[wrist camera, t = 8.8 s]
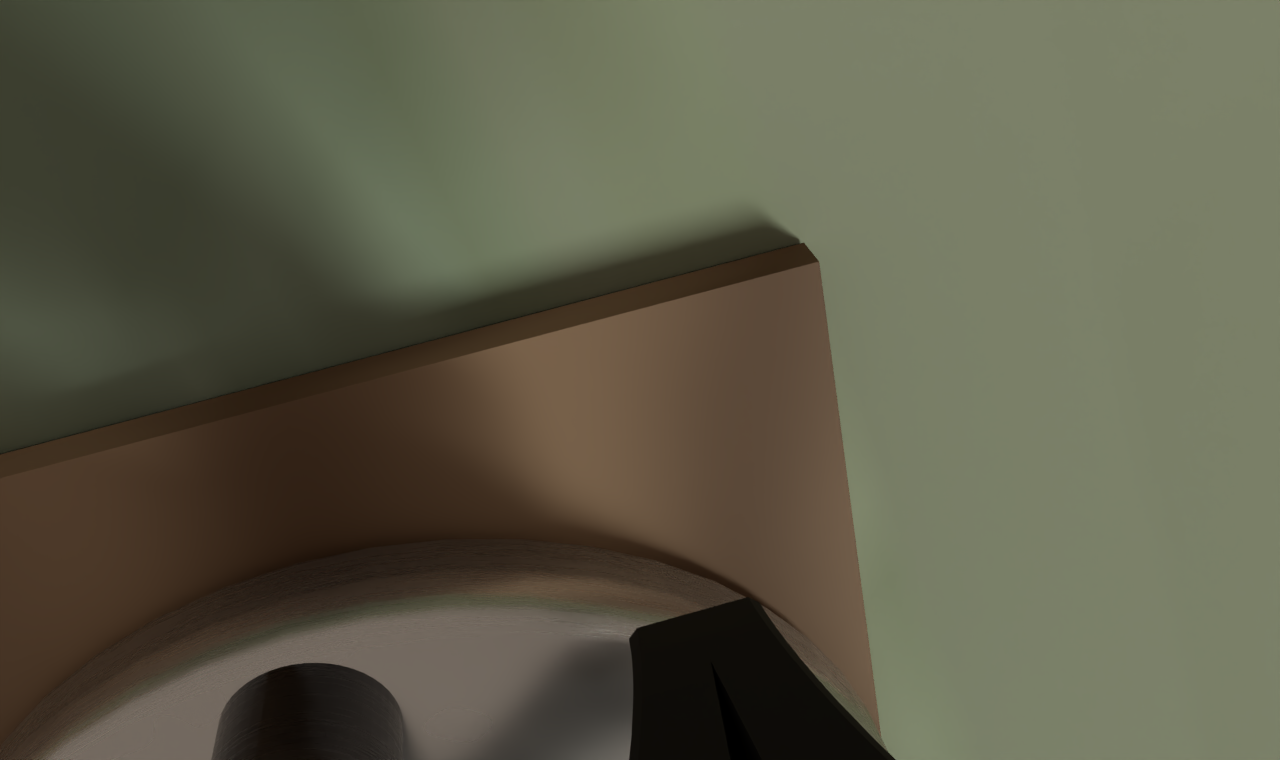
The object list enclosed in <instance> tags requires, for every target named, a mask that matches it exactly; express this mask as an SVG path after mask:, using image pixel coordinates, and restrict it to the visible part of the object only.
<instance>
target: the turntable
mask: <svg viewBox="0 0 1280 760" xmlns="http://www.w3.org/2000/svg"><path fill="white" fill-rule="evenodd" d="M743 598H746V597H744V596H742V595H740V594H738V593H736V592H734V591H732V590H731V589H729V588H727V587H725V586H723V585H721V584H719V583H717V582H715V581H712V580H709V579H707V578H704V577H701V576H698V575H695V574H692V573H690V572H687V571H684V570H681V569H678V568H675V567H672V566H670V565H667V564H664V563H661V562H658V561H655V560H651V559H646V558H642V557H637V556H632V555H628V554H623V553H619V552H614V551H610V550H605V549H601V548H596V547H592V546H583V545H573V544H563V543H554V542H544V541H534V540H525V539H445V540H436V541H427V542H418V543H409V544H400V545H391V546H382V547H373V548H367V549H362V550H358V551H353V552H348V553H344V554H339V555H335V556H330V557H325V558H321V559H316V560H311V561H307V562H302V563H298V564H294V565H291V566H288V567H285V568H282V569H279V570H276V571H273V572H270V573H267V574H264V575H261V576H258V577H255V578H251V579H248V580H245V581H242V582H239V583H236V584H233V585H230V586H227V587H224V588H222V589H220V590H217V591H215V592H213V593H211V594H209V595H207V596H204V597H202V598H200V599H198V600H196V601H193V602H191V603H189V604H187V605H185V606H183V607H180V608H178V609H176V610H174V611H172V612H170V613H167V614H165V615H163V616H161V617H159V618H156V619H155V620H153V621H151V622H150V623H148V624H147V625H145V626H143V627H142V628H140V629H138V630H137V631H135V632H134V633H132V634H130V635H129V636H127V637H125V638H124V639H122V640H120V641H119V642H117V643H116V644H114V645H112V646H111V647H109V648H107V649H106V650H104V651H103V652H101V653H99V654H98V655H96V656H95V657H94V658H92V659H91V660H90V661H89V662H87V663H86V664H85V665H84V666H82V667H81V668H80V669H79V670H77V671H76V672H75V673H74V674H73V675H71V676H70V677H69V678H68V679H66V680H65V681H64V682H63V683H61V684H60V685H59V686H58V687H56V688H55V689H54V690H53V691H52V692H50V693H49V694H48V695H47V696H45V697H44V698H43V700H42V701H41V702H40V703H39V704H38V705H37V706H36V707H35V708H34V709H33V710H32V711H31V713H30V714H29V715H28V716H27V717H26V718H25V719H24V720H23V721H22V722H21V723H20V724H19V726H18V727H17V728H16V729H15V730H14V731H13V732H12V733H11V734H10V735H9V736H8V737H7V739H6V740H5V741H4V742H3V744H2V745H1V747H0V760H629V755H630V746H631V735H632V714H633V669H632V656H631V649H630V643H629V638H630V637H631V635H632V634H633V633H634V631H635V630H636V629H637V628H638V627H642V626H646V625H649V624H653V623H656V622H660V621H664V620H667V619H671V618H674V617H678V616H681V615H685V614H689V613H692V612H696V611H699V610H703V609H707V608H710V607H714V606H717V605H721V604H725V603H728V602H732V601H735V600H739V599H743ZM761 606H762V605H761ZM762 607H763V609H764V610H765V612H766V614H767V615H768V616H769V618H770V619H771V621H772V622H773V624H774V625H775V626H776V628H777V629H778V631H779V632H780V633H781V635H782V636H783V637H784V638H785V640H786V641H787V642H788V644H789V645H790V646H791V647H792V649H793V650H794V651H795V652H796V654H797V655H798V656H799V657H800V659H801V660H802V661H803V662H804V663H805V664H806V666H807V667H808V668H809V669H810V670H811V671H812V673H813V674H814V675H815V676H816V677H817V678H818V680H819V681H820V682H821V683H822V684H823V685H824V686H825V688H826V689H827V690H828V691H829V692H830V693H831V694H832V695H833V696H834V697H835V699H836V700H837V701H838V702H839V703H840V704H841V705H842V706H843V707H844V708H845V709H846V710H847V711H848V712H849V713H850V714H851V715H852V716H853V717H854V718H855V719H856V720H857V721H858V723H859V724H860V725H861V726H862V727H863V728H864V729H865V730H866V731H867V732H868V733H869V734H870V735H871V736H872V737H873V738H874V739H875V740H876V741H877V742H878V743H879V744H880V745H881V746H882V747H883V748H884V749H885V750H886V751H887V749H886V747H885V744H884V742H883V740H882V738H881V736H880V734H879V732H878V730H877V728H876V726H875V724H874V722H873V719H872V717H871V715H870V713H869V711H868V709H867V707H866V706H865V704H864V703H863V701H862V700H861V699H860V697H859V696H858V694H857V693H856V691H855V690H854V688H853V687H852V686H851V684H850V683H849V681H848V680H847V678H846V677H845V676H844V674H843V673H842V671H841V670H840V669H839V668H838V667H837V666H836V665H835V664H834V663H833V662H832V661H831V660H830V659H829V658H828V657H827V656H826V655H825V654H824V653H823V652H822V651H821V650H820V649H819V648H818V647H817V646H816V645H815V644H814V643H813V642H812V641H811V640H810V639H809V638H808V637H806V636H805V635H803V634H802V633H801V632H799V631H798V630H796V629H795V628H794V627H792V626H791V625H789V624H788V623H787V622H785V621H784V620H782V619H781V618H780V617H778V616H777V615H775V614H774V613H773V612H771V611H770V610H768V609H767V608H766V607H764V606H762ZM887 752H888V751H887Z"/></svg>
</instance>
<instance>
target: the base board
mask: <svg viewBox="0 0 1280 760" xmlns="http://www.w3.org/2000/svg"><path fill="white" fill-rule="evenodd" d="M445 539H525V540H534V541H544V542H554V543H563V544H573V545H583V546H592V547H596V548H601V549H605V550H610V551H614V552H619V553H623V554H628V555H632V556H637V557H642V558H646V559H651V560H655V561H658V562H661V563H664V564H667V565H670V566H672V567H675V568H678V569H681V570H684V571H687V572H690V573H692V574H695V575H698V576H701V577H704V578H707V579H709V580H712V581H715V582H717V583H719V584H721V585H723V586H725V587H727V588H729V589H731V590H732V591H734V592H736V593H738V594H740V595H742V596H744V597H749V598H751V599H753V600H755V601H757V602H759V603H760V604H761V605H762V606H764V607H766V608H767V609H768V610H770V611H771V612H773V613H774V614H775V615H777V616H778V617H780V618H781V619H782V620H784V621H785V622H787V623H788V624H789V625H791V626H792V627H794V628H795V629H796V630H798V631H799V632H801V633H802V634H803V635H805V636H806V637H808V638H809V639H810V640H811V641H812V642H813V643H814V644H815V645H816V646H817V647H818V648H819V649H820V650H821V651H822V652H823V653H824V654H825V655H826V656H827V657H828V658H829V659H830V660H831V661H832V662H833V663H834V664H835V665H836V666H837V667H838V668H839V669H840V670H841V671H842V673H843V674H844V676H845V677H846V678H847V680H848V681H849V683H850V684H851V686H852V687H853V688H854V690H855V691H856V693H857V694H858V696H859V697H860V699H861V700H862V701H863V703H864V704H865V706H866V707H867V709H868V711H869V713H870V715H871V717H872V719H873V722H874V724H875V726H876V728H877V730H878V732H879V734H880V736H881V732H880V725H879V717H878V709H877V702H876V694H875V687H874V679H873V671H872V664H871V656H870V648H869V641H868V633H867V625H866V618H865V610H864V602H863V595H862V587H861V579H860V572H859V564H858V556H857V549H856V541H855V533H854V526H853V518H852V510H851V503H850V495H849V487H848V480H847V472H846V464H845V457H844V449H843V441H842V434H841V426H840V418H839V411H838V403H837V395H836V388H835V380H834V372H833V365H832V357H831V349H830V342H829V334H828V326H827V319H826V311H825V303H824V296H823V288H822V280H821V273H820V265H819V261H818V260H817V258H816V257H815V256H814V255H813V254H812V252H811V251H810V250H809V249H808V247H807V246H806V245H805V244H804V243H801V244H797V245H793V246H789V247H786V248H782V249H778V250H774V251H771V252H767V253H763V254H759V255H755V256H752V257H748V258H744V259H740V260H736V261H733V262H729V263H725V264H721V265H717V266H714V267H710V268H706V269H702V270H698V271H695V272H691V273H687V274H683V275H679V276H676V277H672V278H668V279H664V280H660V281H657V282H653V283H649V284H645V285H641V286H638V287H634V288H630V289H626V290H623V291H619V292H615V293H611V294H607V295H604V296H600V297H596V298H592V299H588V300H585V301H581V302H577V303H573V304H569V305H566V306H562V307H558V308H554V309H550V310H547V311H543V312H539V313H535V314H531V315H528V316H524V317H520V318H516V319H512V320H509V321H505V322H501V323H497V324H494V325H490V326H486V327H482V328H478V329H475V330H471V331H467V332H463V333H459V334H456V335H452V336H448V337H444V338H440V339H437V340H433V341H429V342H425V343H421V344H418V345H414V346H410V347H406V348H402V349H399V350H395V351H391V352H387V353H383V354H380V355H376V356H372V357H368V358H365V359H361V360H357V361H353V362H349V363H346V364H342V365H338V366H334V367H330V368H327V369H323V370H319V371H315V372H311V373H308V374H304V375H300V376H296V377H292V378H289V379H285V380H281V381H277V382H273V383H270V384H266V385H262V386H258V387H254V388H251V389H247V390H243V391H239V392H236V393H232V394H228V395H224V396H220V397H217V398H213V399H209V400H205V401H201V402H198V403H194V404H190V405H186V406H182V407H179V408H175V409H171V410H167V411H163V412H160V413H156V414H152V415H148V416H144V417H141V418H137V419H133V420H129V421H125V422H122V423H118V424H114V425H110V426H107V427H103V428H99V429H95V430H91V431H88V432H84V433H80V434H76V435H72V436H69V437H65V438H61V439H57V440H53V441H50V442H46V443H42V444H38V445H34V446H31V447H27V448H23V449H19V450H15V451H12V452H8V453H4V454H0V747H1V745H2V744H3V742H4V741H5V740H6V739H7V737H8V736H9V735H10V734H11V733H12V732H13V731H14V730H15V729H16V728H17V727H18V726H19V724H20V723H21V722H22V721H23V720H24V719H25V718H26V717H27V716H28V715H29V714H30V713H31V711H32V710H33V709H34V708H35V707H36V706H37V705H38V704H39V703H40V702H41V701H42V700H43V698H44V697H45V696H47V695H48V694H49V693H50V692H52V691H53V690H54V689H55V688H56V687H58V686H59V685H60V684H61V683H63V682H64V681H65V680H66V679H68V678H69V677H70V676H71V675H73V674H74V673H75V672H76V671H77V670H79V669H80V668H81V667H82V666H84V665H85V664H86V663H87V662H89V661H90V660H91V659H92V658H94V657H95V656H96V655H98V654H99V653H101V652H103V651H104V650H106V649H107V648H109V647H111V646H112V645H114V644H116V643H117V642H119V641H120V640H122V639H124V638H125V637H127V636H129V635H130V634H132V633H134V632H135V631H137V630H138V629H140V628H142V627H143V626H145V625H147V624H148V623H150V622H151V621H153V620H155V619H156V618H159V617H161V616H163V615H165V614H167V613H170V612H172V611H174V610H176V609H178V608H180V607H183V606H185V605H187V604H189V603H191V602H193V601H196V600H198V599H200V598H202V597H204V596H207V595H209V594H211V593H213V592H215V591H217V590H220V589H222V588H224V587H227V586H230V585H233V584H236V583H239V582H242V581H245V580H248V579H251V578H255V577H258V576H261V575H264V574H267V573H270V572H273V571H276V570H279V569H282V568H285V567H288V566H291V565H294V564H298V563H302V562H307V561H311V560H316V559H321V558H325V557H330V556H335V555H339V554H344V553H348V552H353V551H358V550H362V549H367V548H373V547H382V546H391V545H400V544H409V543H418V542H427V541H436V540H445Z"/></svg>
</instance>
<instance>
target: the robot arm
mask: <svg viewBox="0 0 1280 760" xmlns="http://www.w3.org/2000/svg"><path fill="white" fill-rule="evenodd" d="M629 643H630V649H631V656H632V669H633V714H632V735H631V746H630V755H629V760H895V759H894V758H893V757H892V756H891V755H890V754H889V753H888V752H887V751H886V750H885V749H884V748H883V747H882V746H881V745H880V744H879V743H878V742H877V741H876V740H875V739H874V738H873V737H872V736H871V735H870V734H869V733H868V732H867V731H866V730H865V729H864V728H863V727H862V726H861V725H860V724H859V723H858V721H857V720H856V719H855V718H854V717H853V716H852V715H851V714H850V713H849V712H848V711H847V710H846V709H845V708H844V707H843V706H842V705H841V704H840V703H839V702H838V701H837V700H836V699H835V697H834V696H833V695H832V694H831V693H830V692H829V691H828V690H827V689H826V688H825V686H824V685H823V684H822V683H821V682H820V681H819V680H818V678H817V677H816V676H815V675H814V674H813V673H812V671H811V670H810V669H809V668H808V667H807V666H806V664H805V663H804V662H803V661H802V660H801V659H800V657H799V656H798V655H797V654H796V652H795V651H794V650H793V649H792V647H791V646H790V645H789V644H788V642H787V641H786V640H785V638H784V637H783V636H782V635H781V633H780V632H779V631H778V629H777V628H776V626H775V625H774V624H773V622H772V621H771V619H770V618H769V616H768V615H767V614H766V612H765V610H764V609H763V607H762V606H761V604H760V603H759V602H757V601H755V600H753V599H751V598H749V597H746V598H743V599H739V600H735V601H732V602H728V603H725V604H721V605H717V606H714V607H710V608H707V609H703V610H699V611H696V612H692V613H689V614H685V615H681V616H678V617H674V618H671V619H667V620H664V621H660V622H656V623H653V624H649V625H646V626H642V627H638V628H637V629H636V630H635V631H634V633H633V634H632V635H631V637H630V638H629Z"/></svg>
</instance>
